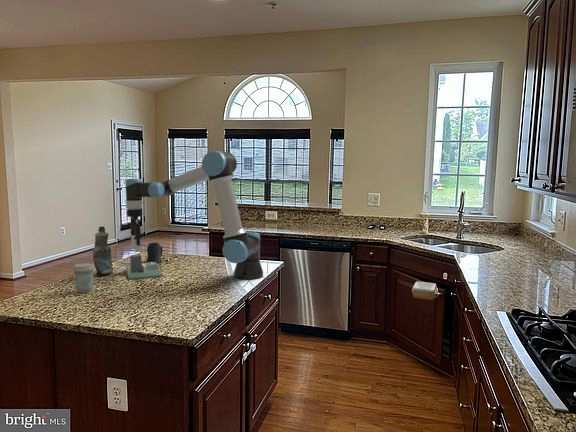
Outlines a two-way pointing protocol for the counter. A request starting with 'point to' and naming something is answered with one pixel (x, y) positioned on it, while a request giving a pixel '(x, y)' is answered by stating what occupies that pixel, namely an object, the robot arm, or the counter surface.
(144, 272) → the translucent green tray
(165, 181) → the robot arm
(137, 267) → the plug
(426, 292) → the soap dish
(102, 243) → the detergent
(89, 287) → the coffee cup
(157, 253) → the mug
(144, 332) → the counter surface
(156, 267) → the fan
